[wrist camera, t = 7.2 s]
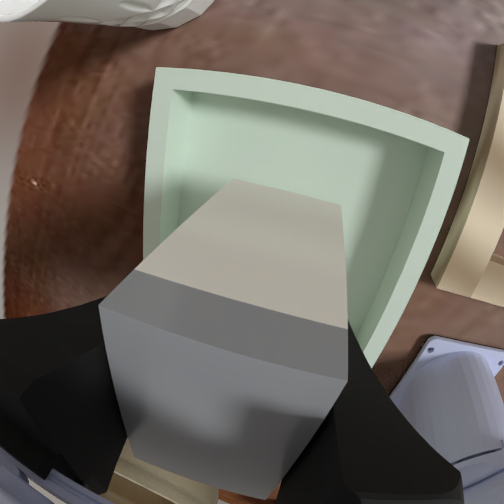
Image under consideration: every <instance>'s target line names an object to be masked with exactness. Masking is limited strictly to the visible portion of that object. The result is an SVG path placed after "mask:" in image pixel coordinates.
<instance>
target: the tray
mask: <svg viewBox="0 0 504 504" xmlns="http://www.w3.org/2000/svg"><path fill="white" fill-rule="evenodd" d="M468 143H469V138H467V137H464V136H462V135H460V134H458V133H455V132H453V131H450V130H448V129H446V128H443V127H441V126H438V125H436V124H433V123H430V122H428V121H425V120H422V119H420V118H417V117H414V116H411V115H409V114H406V113H403V112H400V111H397V110H394V109H391V108H388V107H384V106H381V105H378V104H375V103H371V102H368V101H365V100H361V99H358V98H354V97H350V96H347V95H343V94H339V93H335V92H331V91H327V90H323V89H318V88H314V87H309V86H305V85H300V84H295V83H290V82H285V81H279V80H274V79H268V78H262V77H255V76H249V75H242V74H234V73H226V72H217V71H207V70H196V69H182V68H163V67H156V73H155V80H154V88H153V95H152V104H151V113H150V122H149V133H148V144H147V157H146V172H145V191H144V219H143V260H144V259H145V258H146V257H147V256H148V255H149V254H151V253H152V252H153V251H154V250H155V249H156V248H157V247H158V246H159V245H160V244H161V243H162V242H163V241H164V240H165V239H166V238H167V237H169V236H170V235H171V234H172V233H173V232H174V231H175V230H176V229H177V228H178V227H179V226H180V225H181V224H183V223H184V222H185V221H186V220H187V219H188V218H189V217H190V216H191V215H192V214H194V213H195V212H196V211H197V210H198V209H199V208H200V207H201V206H202V205H204V204H205V203H206V202H207V201H208V200H209V199H210V198H211V197H213V196H214V195H215V194H216V193H217V192H218V191H219V190H221V189H222V188H223V187H224V186H225V185H226V184H227V183H229V182H230V181H231V180H232V179H233V178H234V179H238V180H243V181H247V182H252V183H256V184H260V185H265V186H269V187H273V188H277V189H281V190H285V191H290V192H294V193H298V194H302V195H305V196H309V197H313V198H317V199H321V200H325V201H328V202H332V203H336V204H340V205H341V210H342V221H343V234H344V247H345V263H346V283H347V311H348V321H349V323H350V325H351V328H352V330H353V332H354V334H355V337H356V339H357V341H358V343H359V345H360V347H361V349H362V351H363V353H364V355H365V357H366V359H367V361H368V363H369V365H370V367H371V368H372V367H373V365H374V364H375V362H376V360H377V359H378V357H379V355H380V353H381V352H382V350H383V348H384V346H385V345H386V343H387V341H388V339H389V337H390V336H391V334H392V332H393V330H394V328H395V326H396V324H397V323H398V321H399V319H400V317H401V315H402V313H403V311H404V309H405V307H406V305H407V303H408V301H409V299H410V297H411V295H412V293H413V291H414V289H415V286H416V284H417V282H418V280H419V278H420V276H421V273H422V271H423V269H424V267H425V265H426V262H427V260H428V258H429V255H430V253H431V251H432V248H433V246H434V243H435V241H436V238H437V236H438V233H439V231H440V228H441V226H442V223H443V220H444V218H445V215H446V212H447V210H448V207H449V204H450V201H451V198H452V195H453V193H454V190H455V187H456V184H457V180H458V177H459V174H460V171H461V168H462V164H463V161H464V158H465V154H466V150H467V147H468Z"/></svg>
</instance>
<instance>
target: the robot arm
mask: <svg viewBox="0 0 504 504" xmlns="http://www.w3.org/2000/svg"><path fill="white" fill-rule="evenodd" d="M106 297H107V296H106ZM106 297H103V298H100V299H98V300H95V301H92V302H89V303H86V304H83V305H79V306H76V307H72V308H68V309H64V310H60V311H56V312H52V313H47V314H42V315H36V316H29V317H22V318H13V319H0V504H54V503H53V502H52V501H51V500H49V499H48V498H46V497H45V496H44V495H42V494H41V493H40V492H38V491H37V490H35V489H34V488H33V487H32V486H30V485H29V481H28V478H29V479H30V480H32V481H33V482H35V483H36V484H37V485H39V486H40V487H42V488H43V489H45V490H46V491H48V492H49V493H51V494H52V495H54V496H55V497H57V498H59V499H60V500H61V501H63V502H65V503H66V504H115V503H113V502H111V501H109V500H107V499H105V498H103V497H101V496H99V495H100V494H103V493H106V492H107V490H108V487H109V484H110V481H111V478H112V476H113V473H114V470H115V467H116V465H117V462H118V459H119V457H120V454H121V452H122V450H123V447H124V445H125V442H126V440H127V433H126V430H125V426H124V423H123V419H122V416H121V412H120V408H119V405H118V401H117V397H116V393H115V389H114V384H113V380H112V376H111V371H110V367H109V362H108V357H107V352H106V347H105V342H104V336H103V331H102V325H101V318H100V312H99V304H100V303H101V302H102V301H103V300H104V299H105V298H106ZM431 347H432V348H431ZM429 348H431V349H429ZM503 365H504V350H502V349H497V348H492V347H487V346H482V345H477V344H472V343H467V342H462V341H458V340H453V339H448V338H444V337H439V336H432V337H430V338H429V339H428V340H427V341H426V343H425V344H424V346H423V348H422V349H421V351H420V352H419V354H418V355H417V357H416V359H415V360H414V362H413V363H412V365H411V366H410V368H409V369H408V371H407V372H406V374H405V375H404V376H403V378H402V379H401V381H400V382H399V384H398V385H397V386H396V388H395V389H394V391H393V392H392V393H391V395H390V396H389V395H388V394H387V392H386V391H385V389H384V388H383V386H382V385H381V384H380V382H379V380H378V379H377V377H376V375H375V374H374V372H373V370H372V368H371V367H370V365H369V363H368V361H367V359H366V357H365V355H364V353H363V351H362V349H361V347H360V345H359V343H358V341H357V339H356V337H355V334H354V332H353V330H352V328H351V325H350V323H349V321H348V381H347V383H346V385H345V386H344V388H343V390H342V391H341V393H340V395H339V396H338V398H337V400H336V401H335V403H334V405H333V406H332V408H331V409H330V411H329V413H328V414H327V416H326V417H325V419H324V420H323V422H322V423H321V425H320V426H319V428H318V429H317V431H316V432H315V434H314V435H313V437H312V438H311V440H310V441H309V443H308V444H307V446H306V447H305V448H304V450H303V451H302V453H301V454H300V456H299V457H298V458H297V460H296V461H295V462H294V464H293V465H292V467H291V468H290V469H289V471H288V472H287V473H286V475H285V476H284V477H283V479H282V482H281V486H280V489H279V492H278V496H277V499H276V502H275V504H504V404H503V401H502V398H501V395H500V392H499V389H498V387H497V384H496V381H495V378H494V377H495V375H496V374H497V373H498V372H499V370H500V369H501V368H502V366H503ZM27 477H28V478H27Z"/></svg>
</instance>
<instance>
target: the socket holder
mask: <svg viewBox="0 0 504 504" xmlns="http://www.w3.org/2000/svg"><path fill="white" fill-rule="evenodd" d="M503 228H504V44H500V45H497V52H496V59H495V66H494V73H493V79H492V85H491V90H490V96H489V101H488V105H487V110H486V115H485V119H484V123H483V127H482V131H481V135H480V139H479V143H478V147H477V150H476V154H475V157H474V161H473V164H472V168H471V171H470V174H469V177H468V180H467V183H466V186H465V189H464V192H463V195H462V198H461V201H460V204H459V207H458V209H457V212H456V215H455V217H454V220H453V223H452V225H451V228H450V230H449V233H448V235H447V238H446V240H445V243H444V245H443V247H442V250H441V252H440V255H439V257H438V259H437V261H436V264H435V266H434V268H433V270H432V272H431V277H432V279H433V281H434V283H435V286H436V288H438V289H441V290H445V291H448V292H452V293H456V294H459V295H463V296H466V297H470V298H473V299H477V300H481V301H484V302H488V303H491V304H495V305H498V306H502V307H504V257H502V256H499V255H496V254H494V253H493V251H494V249H495V247H496V245H497V242H498V240H499V238H500V235H501V233H502V230H503Z"/></svg>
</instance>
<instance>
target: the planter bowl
mask: <svg viewBox="0 0 504 504" xmlns="http://www.w3.org/2000/svg"><path fill="white" fill-rule="evenodd" d="M218 494H219V488H216V487H213V486H210V485H206V484H203V483H200V482H197V481H194V480H191V479H188V478H185V477H182V476H180V475H177V474H174V473H172V472H169V471H166V470H164V469H161V468H159V467H156V466H154V465H151V464H149V463H146V462H144V461H142V460H139V459H137V458H135V457H134V456H133V452H132V449H131V446H130V443H129V440H128V437H127V440H126V442H125V445H124V447H123V450H122V452H121V454H120V457H119V459H118V462H117V465H116V467H115V470H114V473H113V476H112V478H111V481H110V484H109V487H108V490H107V492H106V493H103V494H100V495H99V496H101V497H103V498H105V499H107V500H109V501H111V502H113V503H115V504H217V502H218Z"/></svg>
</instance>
